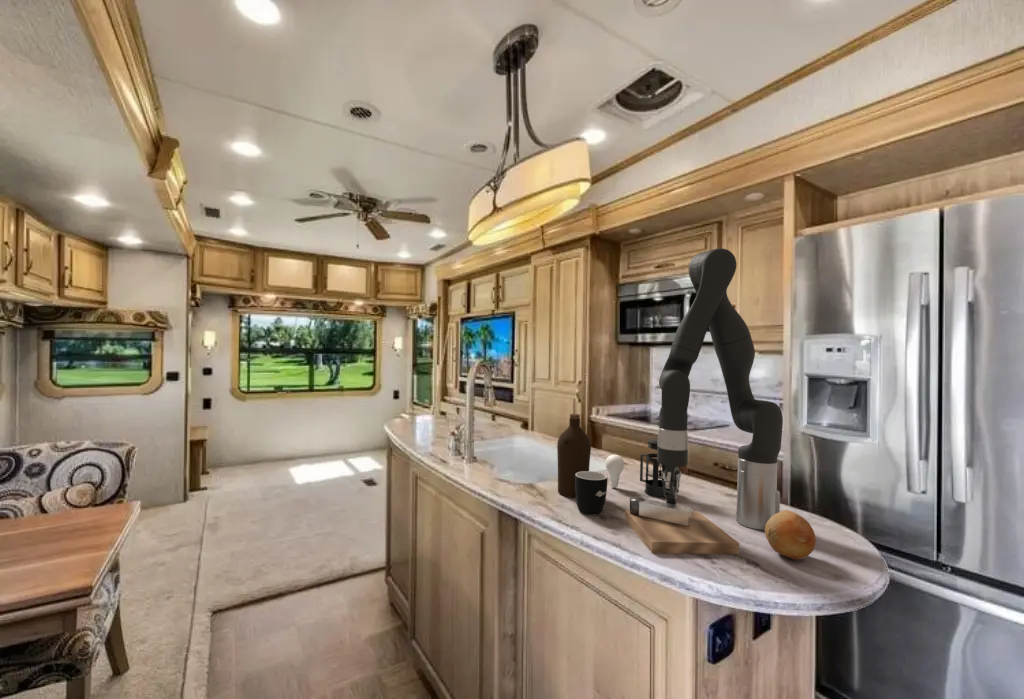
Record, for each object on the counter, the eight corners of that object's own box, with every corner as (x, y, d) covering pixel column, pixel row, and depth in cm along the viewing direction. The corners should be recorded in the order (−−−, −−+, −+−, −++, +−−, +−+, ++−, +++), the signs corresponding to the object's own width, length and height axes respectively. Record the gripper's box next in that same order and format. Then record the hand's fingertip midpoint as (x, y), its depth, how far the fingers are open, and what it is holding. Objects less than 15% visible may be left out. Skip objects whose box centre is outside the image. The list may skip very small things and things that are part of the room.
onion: (754, 550, 102) (755, 507, 102) (782, 544, 106) (783, 502, 106) (795, 570, 93) (797, 522, 93) (825, 562, 97) (826, 517, 97)
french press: (681, 493, 143) (683, 422, 143) (671, 501, 135) (673, 426, 135) (645, 486, 150) (647, 418, 150) (634, 492, 142) (637, 421, 142)
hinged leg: (627, 513, 116) (627, 499, 116) (632, 508, 119) (632, 495, 119) (687, 526, 108) (688, 512, 108) (691, 521, 111) (691, 507, 111)
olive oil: (590, 499, 134) (593, 417, 134) (555, 497, 135) (558, 415, 135) (588, 488, 145) (590, 412, 145) (555, 487, 146) (558, 411, 146)
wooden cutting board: (697, 520, 120) (697, 511, 120) (738, 554, 100) (739, 542, 100) (624, 519, 119) (625, 510, 119) (651, 553, 99) (652, 542, 99)
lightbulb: (609, 484, 151) (610, 451, 151) (626, 487, 147) (627, 454, 147) (601, 487, 146) (602, 454, 146) (618, 492, 143) (619, 457, 143)
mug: (596, 519, 118) (597, 481, 118) (568, 511, 124) (569, 475, 124) (617, 508, 127) (618, 473, 127) (590, 501, 133) (591, 467, 133)
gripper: (683, 452, 108) (682, 523, 108) (691, 443, 119) (690, 507, 119) (652, 448, 112) (650, 517, 112) (662, 440, 123) (661, 502, 123)
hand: (671, 511), depth 116 cm, fingers closed
